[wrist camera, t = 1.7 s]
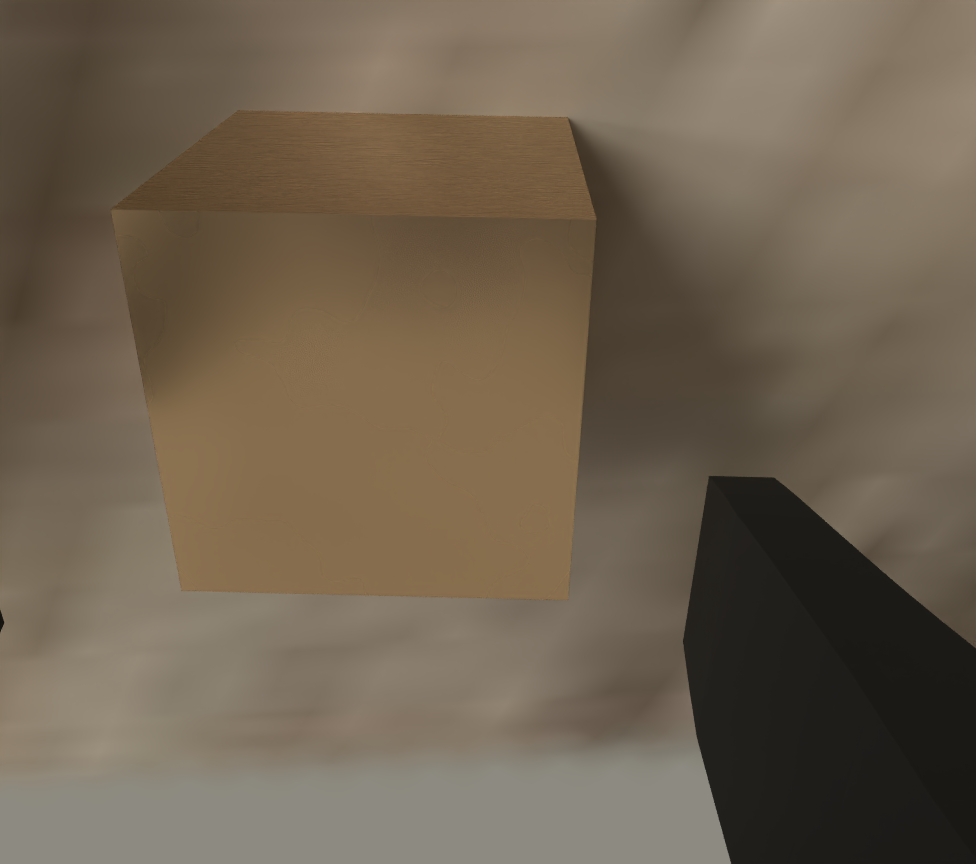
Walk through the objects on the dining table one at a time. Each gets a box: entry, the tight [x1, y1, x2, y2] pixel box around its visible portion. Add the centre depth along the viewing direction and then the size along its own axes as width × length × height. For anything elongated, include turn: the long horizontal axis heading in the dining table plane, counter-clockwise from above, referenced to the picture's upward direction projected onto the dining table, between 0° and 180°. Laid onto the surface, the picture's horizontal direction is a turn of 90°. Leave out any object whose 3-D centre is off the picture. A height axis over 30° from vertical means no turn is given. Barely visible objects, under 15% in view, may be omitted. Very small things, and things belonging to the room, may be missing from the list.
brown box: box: [111, 111, 597, 600], centre depth 14 cm, size 5×5×6 cm
